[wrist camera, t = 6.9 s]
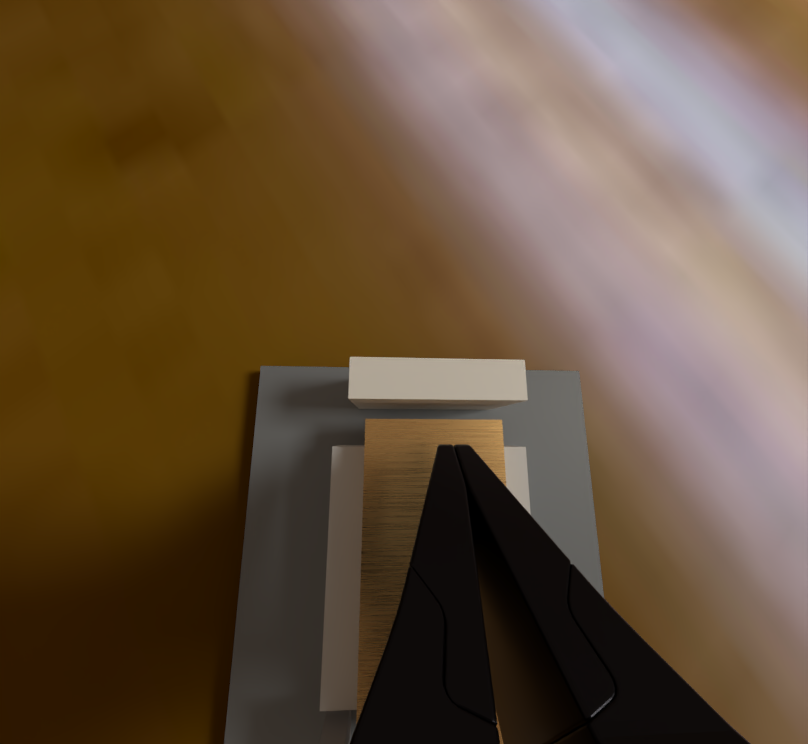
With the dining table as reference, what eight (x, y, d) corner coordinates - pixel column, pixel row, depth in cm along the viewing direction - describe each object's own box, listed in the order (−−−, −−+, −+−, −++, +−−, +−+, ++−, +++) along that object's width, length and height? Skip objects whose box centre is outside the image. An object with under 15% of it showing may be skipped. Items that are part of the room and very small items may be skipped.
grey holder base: (609, 786, 13) (750, 1008, 8) (228, 809, 12) (117, 1074, 7) (567, 374, 16) (646, 348, 11) (268, 370, 15) (213, 339, 10)
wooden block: (527, 802, 9) (501, 419, 11) (353, 812, 9) (365, 418, 11) (513, 766, 10) (492, 421, 12) (357, 775, 10) (366, 420, 12)
